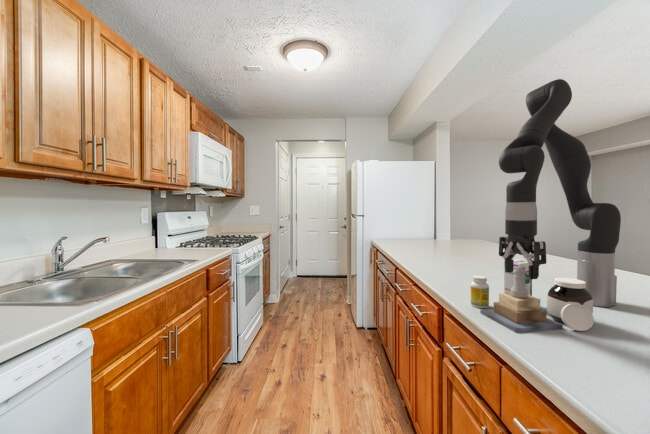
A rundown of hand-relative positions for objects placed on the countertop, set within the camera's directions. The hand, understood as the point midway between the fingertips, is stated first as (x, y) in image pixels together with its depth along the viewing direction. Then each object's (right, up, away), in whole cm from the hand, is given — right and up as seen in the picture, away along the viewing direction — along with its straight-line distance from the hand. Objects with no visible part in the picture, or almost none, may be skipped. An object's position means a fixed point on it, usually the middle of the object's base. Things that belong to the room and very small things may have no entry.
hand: (520, 275), depth 85 cm
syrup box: (+8, -13, +14) cm, 21 cm away
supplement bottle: (-5, -13, +13) cm, 19 cm away
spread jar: (+13, -13, -2) cm, 19 cm away
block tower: (0, -13, +1) cm, 13 cm away
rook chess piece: (0, -6, +1) cm, 6 cm away
